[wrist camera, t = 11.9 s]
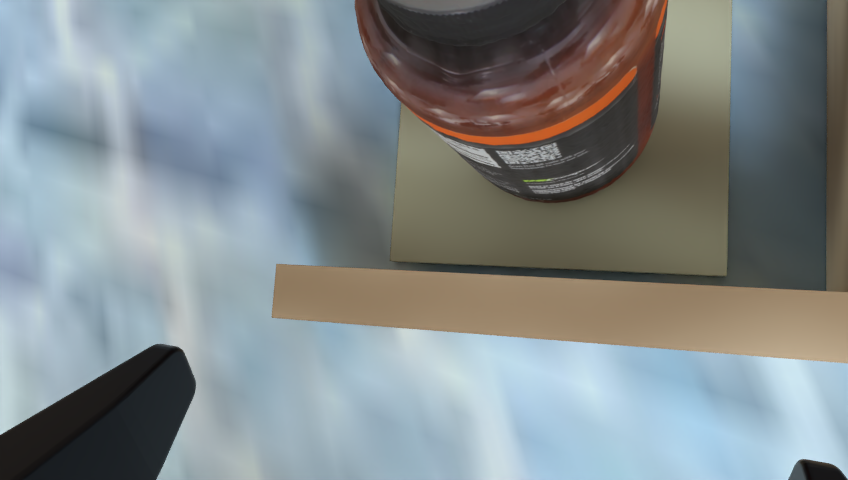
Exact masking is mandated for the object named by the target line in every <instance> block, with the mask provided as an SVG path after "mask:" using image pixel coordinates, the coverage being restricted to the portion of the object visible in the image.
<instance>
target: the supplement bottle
mask: <svg viewBox="0 0 848 480" xmlns="http://www.w3.org/2000/svg"><path fill="white" fill-rule="evenodd" d="M667 7H668V0H355V11H356V16H357V22H358V28H359V33H360V37H361V40H362V43H363V46H364V49H365V52H366V54H367V56H368V58H369V60H370V62H371V64H372V66H373V68H374V70H375V71H376V73H377V74H378V76H379V77H380V78H381V79H382V81H383V82H384V84H385V85H386V86H387V88H388V89H389V90H390V91H391V92H392V93H393V94H394V95H395V97H396V98H397V99H398V100H400V101H401V102H402V103H403V104H404V105H405V106H406V107H407V108H408V109H410V111H411V112H412V113H414V114H415V115H416V116H417V117H418V118H419V119H420V120H421V121H422V122H423V123H424V124H426V125H427V126H428V127H429V128H430V129H431V130H432V131H433V132H434V133H436V134H437V135H438V136H439V137H440V138H441V139H442V140H443V141H445V142H446V143H447V144H448V145H449V146H450V147H451V148H452V149H453V150H454V151H456V152H457V153H458V154H459V155H460V156H461V157H462V158H463V159H464V160H465V161H467V162H468V163H469V164H470V165H471V166H472V167H473V168H474V169H475V170H476V171H477V172H478V173H480V174H481V175H482V176H483V177H484V178H485V179H487V180H488V181H489V182H491V183H492V184H494V185H495V186H497V187H498V188H500V189H501V190H503V191H505V192H507V193H509V194H512V195H514V196H516V197H519V198H522V199H524V200H527V201H534V202H543V203H559V202H568V201H574V200H577V199H581V198H583V197H586V196H589V195H592V194H595V193H597V192H598V191H600V190H602V189H604V188H606V187H608V186H610V185H611V184H612V183H614V182H615V181H616V180H618V179H619V178H620V177H621V176H622V175H623V174H624V173H625V172H626V171H627V170H628V169H629V168H630V167H631V166H632V165H633V164H634V163H635V161H636V160H637V159H638V157H639V156H640V154H641V153H642V151H643V150H644V148H645V146H646V144H647V142H648V140H649V138H650V136H651V134H652V131H653V128H654V125H655V121H656V118H657V114H658V106H659V100H660V88H661V73H662V64H663V52H664V40H665V29H666V19H667Z"/></svg>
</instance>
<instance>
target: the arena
mask: <svg viewBox="0 0 848 480" xmlns="http://www.w3.org/2000/svg"><path fill="white" fill-rule="evenodd" d="M731 31H732V0H668V7H667V19H666V29H665V40H664V52H663V64H662V73H661V88H660V100H659V106H658V114H657V118H656V121H655V125H654V128H653V131H652V134H651V136H650V138H649V140H648V142H647V144H646V146H645V148H644V150H643V151H642V153H641V154H640V156H639V157H638V159H637V160H636V161H635V163H634V164H633V165H632V166H631V167H630V168H629V169H628V170H627V171H626V172H625V173H624V174H623V175H622V176H621V177H620V178H619V179H618V180H616V181H615V182H614V183H612V184H611V185H610V186H608V187H606V188H604V189H602V190H600V191H598V192H597V193H595V194H592V195H589V196H586V197H583V198H581V199H577V200H574V201H568V202H559V203H543V202H534V201H527V200H524V199H522V198H519V197H516V196H514V195H512V194H509V193H507V192H505V191H503V190H501V189H500V188H498V187H497V186H495V185H494V184H492V183H491V182H489V181H488V180H487V179H485V178H484V177H483V176H482V175H481V174H480V173H478V172H477V171H476V170H475V169H474V168H473V167H472V166H471V165H470V164H469V163H468V162H467V161H465V160H464V159H463V158H462V157H461V156H460V155H459V154H458V153H457V152H456V151H454V150H453V149H452V148H451V147H450V146H449V145H448V144H447V143H446V142H445V141H443V140H442V139H441V138H440V137H439V136H438V135H437V134H436V133H434V132H433V131H432V130H431V129H430V128H429V127H428V126H427V125H426V124H424V123H423V122H422V121H421V120H420V119H419V118H418V117H417V116H416V115H415V114H414V113H412V112H411V111H410V109H408V108H407V107H406V106H405V105H404V104H403V103H402V102H401V113H400V127H399V141H398V154H397V168H396V182H395V195H394V209H393V223H392V237H391V250H390V261H393V262H411V263H433V264H455V265H477V266H499V267H521V268H543V269H566V270H588V271H610V272H632V273H654V274H676V275H698V276H720V277H725V276H727V247H728V193H729V139H730V85H731ZM272 318H282V319H295V320H308V321H320V322H333V323H346V324H358V325H371V326H384V327H396V328H409V329H422V330H434V331H447V332H459V333H472V334H485V335H497V336H510V337H523V338H535V339H548V340H561V341H573V342H586V343H598V344H611V345H624V346H636V347H649V348H662V349H674V350H687V351H700V352H712V353H725V354H737V355H750V356H763V357H775V358H788V359H801V360H813V361H826V362H839V363H848V0H827V179H826V291H812V290H792V289H772V288H752V287H731V286H711V285H691V284H671V283H650V282H630V281H610V280H590V279H569V278H549V277H529V276H509V275H488V274H468V273H448V272H428V271H407V270H387V269H367V268H347V267H327V266H306V265H286V264H276V275H275V286H274V297H273V308H272Z"/></svg>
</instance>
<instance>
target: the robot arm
mask: <svg viewBox="0 0 848 480" xmlns="http://www.w3.org/2000/svg"><path fill="white" fill-rule="evenodd" d="M195 389H196V381H195V378H194V375H193V373H192V371H191V368H190V366H189V363H188V361H187V358H186V356H185V353H184V352H183V350H182V349H181V348H179V347H176V346H170V345H165V344H156V345H153V346H151V347H149V348H148V349H146V350H144V351H142V352H141V353H139V354H137V355H136V356H134V357H132V358H131V359H129V360H127V361H125V362H124V363H122V364H120V365H119V366H117V367H115V368H114V369H112V370H110V371H108V372H107V373H105V374H103V375H102V376H100V377H98V378H97V379H95V380H93V381H91V382H90V383H88V384H86V385H85V386H83V387H81V388H80V389H78V390H76V391H74V392H73V393H71V394H69V395H68V396H66V397H64V398H63V399H61V400H59V401H57V402H56V403H54V404H52V405H51V406H49V407H47V408H46V409H44V410H42V411H40V412H39V413H37V414H35V415H34V416H32V417H30V418H29V419H27V420H25V421H23V422H22V423H20V424H18V425H17V426H15V427H13V428H12V429H10V430H8V431H6V432H5V433H3V434H1V435H0V480H156V479H157V477H158V475H159V473H160V471H161V469H162V466H163V464H164V462H165V460H166V457H167V455H168V453H169V451H170V448H171V446H172V444H173V442H174V439H175V437H176V435H177V433H178V430H179V428H180V426H181V424H182V421H183V419H184V417H185V415H186V412H187V410H188V408H189V405H190V403H191V401H192V399H193V396H194V393H195ZM788 480H848V479H847V478H846V477H845V475H844V474H843V473H842V471H841V470H840V469H839V468H837V467H836V466H834V465H832V464H829V463H824V462H818V461H812V460H807V459H801V460H799V461H798V462H797V463H796V464H795V466H794V468H793V471H792V473H791V475H790V477H789V479H788Z"/></svg>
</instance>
